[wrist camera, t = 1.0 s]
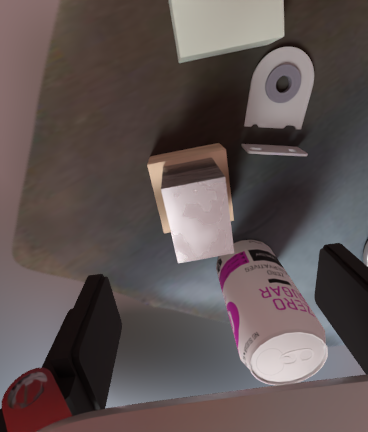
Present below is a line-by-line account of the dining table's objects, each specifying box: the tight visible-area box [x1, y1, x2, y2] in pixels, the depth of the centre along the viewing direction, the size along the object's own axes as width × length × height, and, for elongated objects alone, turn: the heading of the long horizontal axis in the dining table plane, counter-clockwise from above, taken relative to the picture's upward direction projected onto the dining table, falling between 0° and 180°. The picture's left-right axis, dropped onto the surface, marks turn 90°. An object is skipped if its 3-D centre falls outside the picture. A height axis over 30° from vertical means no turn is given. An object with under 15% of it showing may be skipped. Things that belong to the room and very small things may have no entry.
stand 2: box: [147, 143, 234, 233], centre depth 29 cm, size 8×8×4 cm
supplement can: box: [216, 240, 328, 385], centre depth 30 cm, size 8×8×15 cm
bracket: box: [241, 47, 314, 156], centre depth 27 cm, size 7×10×4 cm, turn 177°
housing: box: [161, 157, 234, 263], centre depth 24 cm, size 7×5×7 cm
